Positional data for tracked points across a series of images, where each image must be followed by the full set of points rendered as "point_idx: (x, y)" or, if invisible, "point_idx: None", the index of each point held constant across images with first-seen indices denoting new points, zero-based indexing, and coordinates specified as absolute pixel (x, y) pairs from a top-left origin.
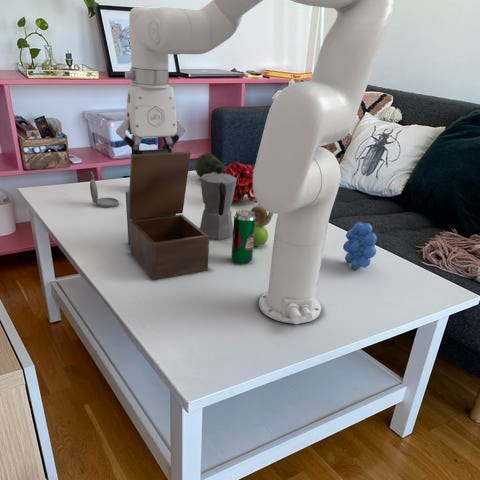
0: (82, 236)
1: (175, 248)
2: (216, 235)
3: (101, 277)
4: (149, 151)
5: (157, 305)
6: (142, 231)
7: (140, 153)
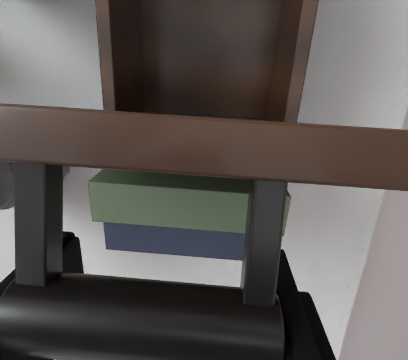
0: (319, 255)
1: None
2: None
3: (403, 24)
4: (196, 335)
5: None
6: (303, 31)
7: (291, 335)
